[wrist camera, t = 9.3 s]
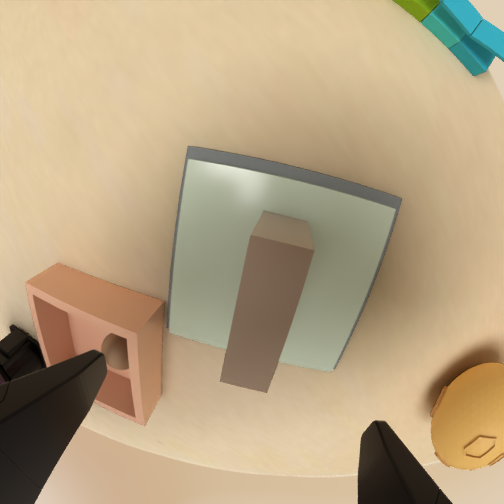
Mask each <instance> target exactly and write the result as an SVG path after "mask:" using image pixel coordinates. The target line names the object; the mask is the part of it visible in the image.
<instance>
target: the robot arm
mask: <svg viewBox="0 0 504 504" xmlns="http://www.w3.org/2000/svg"><path fill="white" fill-rule="evenodd" d="M10 331H11V333H10V334H9V335H7V336H6V337H5V338H4V339H2V340H1V341H0V504H34V503H35V501H36V499H37V498H38V496H39V494H40V492H41V489H42V488H43V486H44V485H45V483H46V481H47V479H48V478H49V476H50V474H51V473H52V471H53V469H54V467H55V465H56V464H57V462H58V461H59V459H60V457H61V455H62V454H63V452H64V450H65V449H66V447H67V446H68V444H69V442H70V441H71V439H72V437H73V435H74V434H75V432H76V431H77V429H78V428H79V426H80V424H81V423H82V421H83V420H84V418H85V417H86V415H87V413H88V412H89V410H90V408H91V406H92V404H93V402H94V400H95V398H96V396H97V394H98V392H99V390H100V388H101V386H102V384H103V382H104V380H105V378H106V376H107V364H106V358H105V355H104V353H102V352H100V351H98V350H95V349H93V350H90V351H87V352H85V353H82V354H80V355H77V356H75V357H72V358H70V359H67V360H65V361H62V362H60V363H57V364H54V365H52V366H49V367H47V366H46V363H45V360H44V357H43V353H42V350H41V347H40V344H39V343H38V342H36V341H35V340H33V339H32V338H30V337H29V336H27V335H26V334H24V333H23V332H22V331H20V330H19V329H17V328H16V327H14V326H13V325H11V326H10ZM358 504H452V502H451V501H450V500H449V499H448V498H447V496H446V495H445V494H444V493H443V492H442V490H441V489H439V487H438V486H437V484H436V483H435V482H434V481H433V479H432V478H431V477H430V476H429V475H428V473H427V472H426V471H425V469H424V468H423V467H422V466H421V465H420V463H419V462H418V461H417V460H416V458H415V457H414V456H413V455H412V453H411V452H410V451H409V450H408V448H407V447H406V446H405V445H404V443H403V442H402V441H401V440H400V438H399V437H398V436H397V435H396V434H395V432H394V431H393V430H392V429H391V427H390V426H389V425H388V424H387V422H385V421H377V420H376V421H373V422H372V423H371V424H370V426H369V427H368V428H367V429H366V430H365V432H364V433H363V434H362V437H361V444H360V457H359V468H358Z"/></svg>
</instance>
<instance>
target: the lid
mask: <svg viewBox="0 0 504 504" xmlns="http://www.w3.org/2000/svg"><path fill="white" fill-rule="evenodd" d="M395 211H396V209H395V208H393V207H391V206H388V205H384V204H381V203H378V202H375V201H372V200H368V199H365V198H362V197H358V196H355V195H352V194H348V193H345V192H341V191H338V190H334V189H330V188H327V187H323V186H319V185H315V184H311V183H307V182H303V181H299V180H295V179H291V178H287V177H283V176H278V175H274V174H269V173H265V172H260V171H256V170H251V169H246V168H241V167H236V166H231V165H226V164H220V163H215V162H209V161H203V160H197V159H188V163H187V169H186V175H185V182H184V188H183V195H182V202H181V209H180V216H179V224H178V232H177V240H176V249H175V259H174V269H173V280H172V292H171V306H170V322H169V333H171V334H174V335H178V336H181V337H184V338H187V339H190V340H194V341H197V342H201V343H204V344H207V345H211V346H215V347H218V348H222V349H225V350H226V354H225V359H224V364H223V369H222V374H221V379H220V382H224V383H228V384H232V385H236V386H240V387H244V388H248V389H252V390H257V391H261V392H266V393H267V391H268V388H269V386H270V383H271V380H272V378H273V375H274V372H275V370H276V367H277V364H278V362H279V363H284V364H289V365H294V366H299V367H304V368H310V369H315V370H321V371H327V372H332V370H333V368H334V366H335V364H336V362H337V360H338V358H339V356H340V354H341V352H342V350H343V348H344V345H345V343H346V341H347V339H348V337H349V335H350V332H351V330H352V328H353V326H354V324H355V321H356V319H357V317H358V314H359V312H360V310H361V307H362V305H363V302H364V300H365V297H366V295H367V293H368V290H369V287H370V285H371V282H372V280H373V277H374V274H375V272H376V269H377V266H378V263H379V261H380V258H381V255H382V252H383V249H384V246H385V243H386V240H387V237H388V234H389V231H390V228H391V224H392V221H393V218H394V214H395Z"/></svg>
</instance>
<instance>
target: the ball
mask: <svg viewBox="0 0 504 504" xmlns="http://www.w3.org/2000/svg"><path fill="white" fill-rule="evenodd" d="M101 352H102V353H104V355H105V358H106V363H107V364H108V365H109V366H110V367H112V368H114V369H117V370H126V369H129V361H128V349H127V339H126V338H123V337H121V336H118V335H116V334H113V333H110V334H109V335H107V336H106V337H105V339H104V340H103V342H102V346H101Z"/></svg>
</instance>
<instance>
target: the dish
mask: <svg viewBox="0 0 504 504" xmlns="http://www.w3.org/2000/svg"><path fill="white" fill-rule="evenodd" d="M25 283H26V289H27V294H28V299H29V304H30V309H31V313H32V317H33V321H34V325H35V329H36V333H37V337H38V340H39V344H40V347H41V350H42V353H43V357H44V360H45V363H46V366H47V367H49V366H52V365H54V364H57V363H60V362H62V361H65V360H67V359H70V358H72V357H75V356H77V355H80V354H82V353H85V352H87V351H90V350H93V349H95V350H98V351H100V352H101V346H102V342H103V340H104V339H105V337H106V336H107V335H109V334H110V333H113V334H116V335H118V336H121V337H123V338H126V339H127V349H128V361H129V369H126V370H117V369H114V368H112V367H110V366H109V365H108V364H107V363H106V364H107V376H106V378H105V380H104V382H103V384H102V386H101V388H100V390H99V392H98V394H97V396H96V398H95V400H94V403H96V404H98V405H100V406H102V407H104V408H106V409H108V410H110V411H112V412H114V413H116V414H118V415H120V416H122V417H125V418H127V419H129V420H131V421H134V422H136V423H138V424H141V425H143V426H145V425H146V423H147V421H148V419H149V417H150V415H151V414H152V412H153V410H154V408H155V406H156V404H157V402H158V400H159V399H160V397H161V395H162V332H163V311H164V301H162V300H159V299H156V298H153V297H150V296H147V295H144V294H141V293H138V292H135V291H132V290H129V289H126V288H123V287H120V286H117V285H115V284H112V283H109V282H106V281H104V280H101V279H98V278H95V277H93V276H90V275H88V274H85V273H82V272H80V271H77V270H75V269H72V268H70V267H67V266H65V265H62V264H60V263H57V264H55V265H53V266H52V267H50V268H48V269H46V270H45V271H43V272H41V273H40V274H38V275H36V276H35V277H33V278H31V279H30V280H28V281H26V282H25Z"/></svg>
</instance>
